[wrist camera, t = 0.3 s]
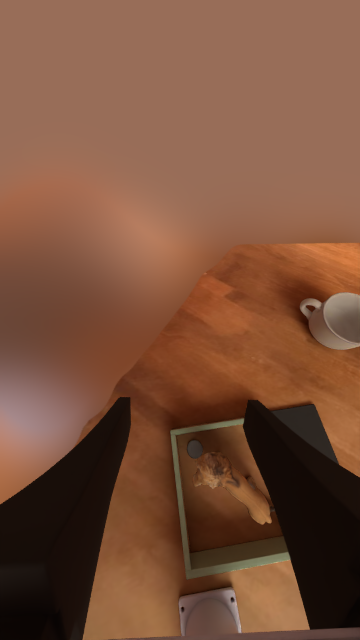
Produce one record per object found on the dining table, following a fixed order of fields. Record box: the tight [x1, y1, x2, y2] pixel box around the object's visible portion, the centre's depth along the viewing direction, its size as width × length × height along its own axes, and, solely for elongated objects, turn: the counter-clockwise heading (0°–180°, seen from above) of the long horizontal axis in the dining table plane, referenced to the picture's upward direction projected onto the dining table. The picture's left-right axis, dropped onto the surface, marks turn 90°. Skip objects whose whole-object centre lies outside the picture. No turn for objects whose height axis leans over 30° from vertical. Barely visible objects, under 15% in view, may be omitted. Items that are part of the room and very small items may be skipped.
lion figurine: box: [193, 452, 275, 524], centre depth 29 cm, size 15×5×9 cm, turn 60°
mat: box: [271, 404, 339, 464], centre depth 33 cm, size 18×9×1 cm, turn 8°
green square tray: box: [170, 417, 291, 580], centre depth 31 cm, size 18×18×4 cm
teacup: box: [300, 292, 360, 350], centre depth 40 cm, size 14×11×8 cm
